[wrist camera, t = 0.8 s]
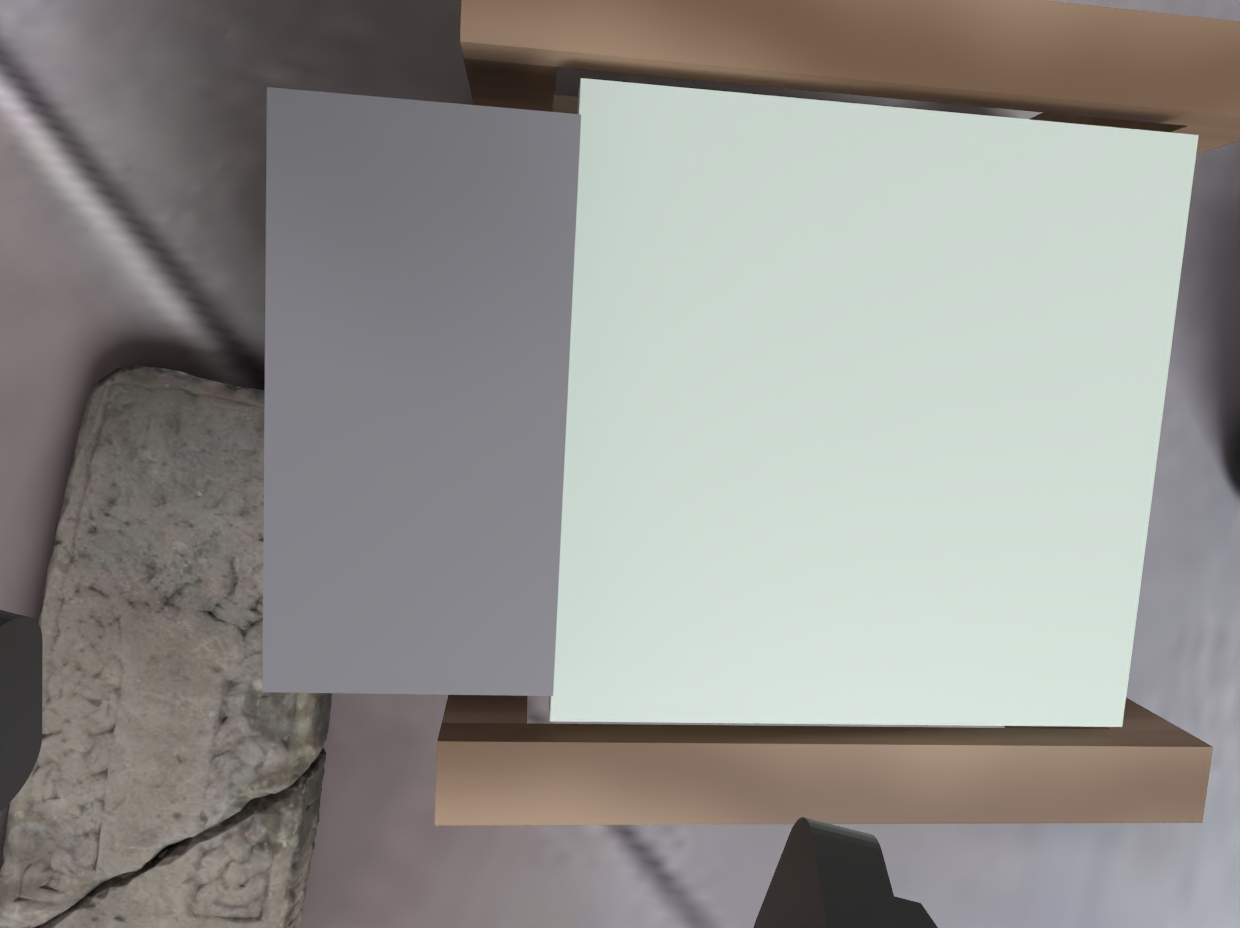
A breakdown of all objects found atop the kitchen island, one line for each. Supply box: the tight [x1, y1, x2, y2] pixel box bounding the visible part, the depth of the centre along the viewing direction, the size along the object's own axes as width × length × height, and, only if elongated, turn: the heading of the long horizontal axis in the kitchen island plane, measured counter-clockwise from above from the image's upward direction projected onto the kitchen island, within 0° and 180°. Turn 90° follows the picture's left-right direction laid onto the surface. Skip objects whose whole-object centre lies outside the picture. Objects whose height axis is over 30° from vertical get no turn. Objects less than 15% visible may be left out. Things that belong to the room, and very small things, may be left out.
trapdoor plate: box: [262, 78, 1199, 727], centre depth 21 cm, size 14×20×5 cm
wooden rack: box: [435, 0, 1240, 825], centre depth 26 cm, size 20×20×12 cm
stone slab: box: [0, 365, 332, 928], centre depth 31 cm, size 10×3×30 cm
